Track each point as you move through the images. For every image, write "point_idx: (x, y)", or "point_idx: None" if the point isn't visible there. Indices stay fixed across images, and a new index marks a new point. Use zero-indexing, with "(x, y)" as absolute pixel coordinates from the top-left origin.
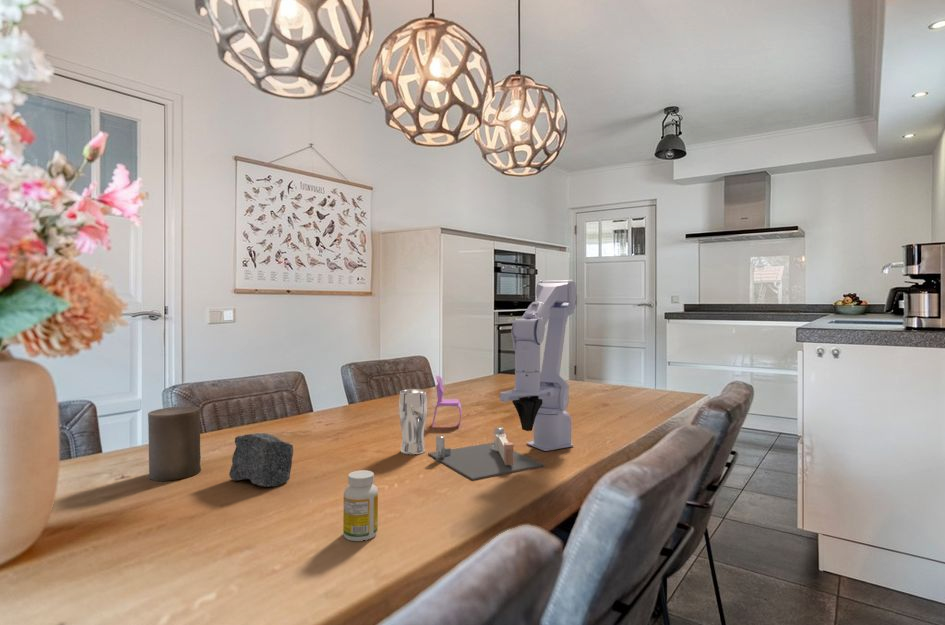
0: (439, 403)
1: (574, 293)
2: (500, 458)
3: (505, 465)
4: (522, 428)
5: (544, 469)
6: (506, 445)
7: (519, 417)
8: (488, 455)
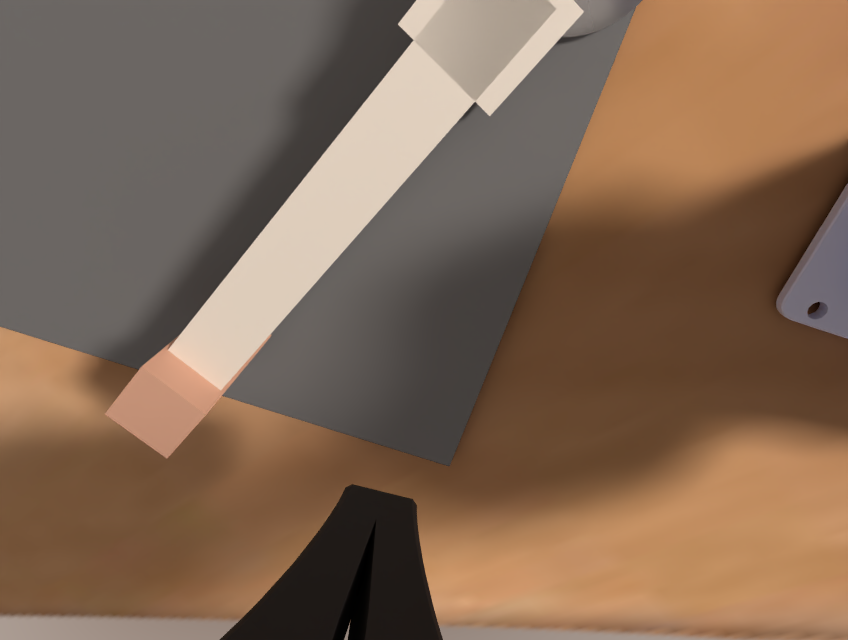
0: None
1: None
2: None
3: None
4: (342, 498)
5: (395, 484)
6: (116, 416)
7: (280, 579)
8: (320, 19)
